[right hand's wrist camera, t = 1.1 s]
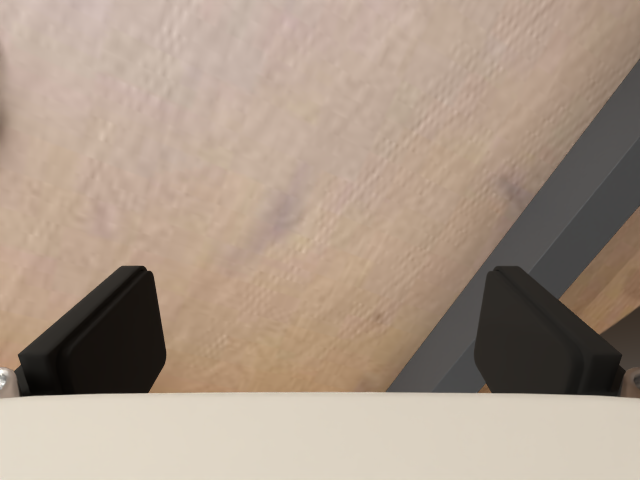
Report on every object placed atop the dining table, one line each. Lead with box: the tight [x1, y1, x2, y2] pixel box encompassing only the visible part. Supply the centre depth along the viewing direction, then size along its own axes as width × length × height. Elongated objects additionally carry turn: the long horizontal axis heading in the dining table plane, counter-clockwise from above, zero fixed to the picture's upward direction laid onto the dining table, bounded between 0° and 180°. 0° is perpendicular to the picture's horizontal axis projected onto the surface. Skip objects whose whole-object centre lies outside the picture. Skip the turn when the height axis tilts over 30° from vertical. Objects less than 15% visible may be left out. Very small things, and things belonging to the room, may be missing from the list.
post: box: [386, 59, 640, 393], centre depth 34 cm, size 75×4×7 cm, turn 151°
